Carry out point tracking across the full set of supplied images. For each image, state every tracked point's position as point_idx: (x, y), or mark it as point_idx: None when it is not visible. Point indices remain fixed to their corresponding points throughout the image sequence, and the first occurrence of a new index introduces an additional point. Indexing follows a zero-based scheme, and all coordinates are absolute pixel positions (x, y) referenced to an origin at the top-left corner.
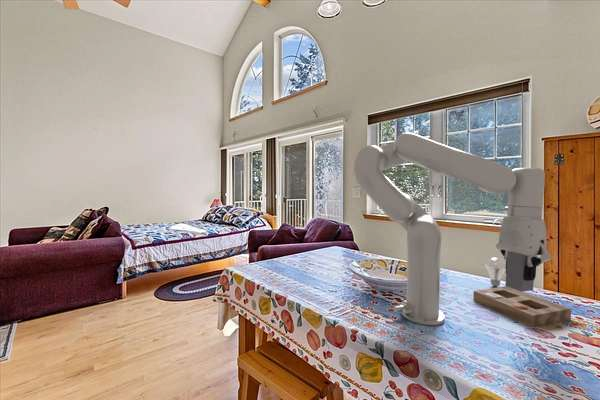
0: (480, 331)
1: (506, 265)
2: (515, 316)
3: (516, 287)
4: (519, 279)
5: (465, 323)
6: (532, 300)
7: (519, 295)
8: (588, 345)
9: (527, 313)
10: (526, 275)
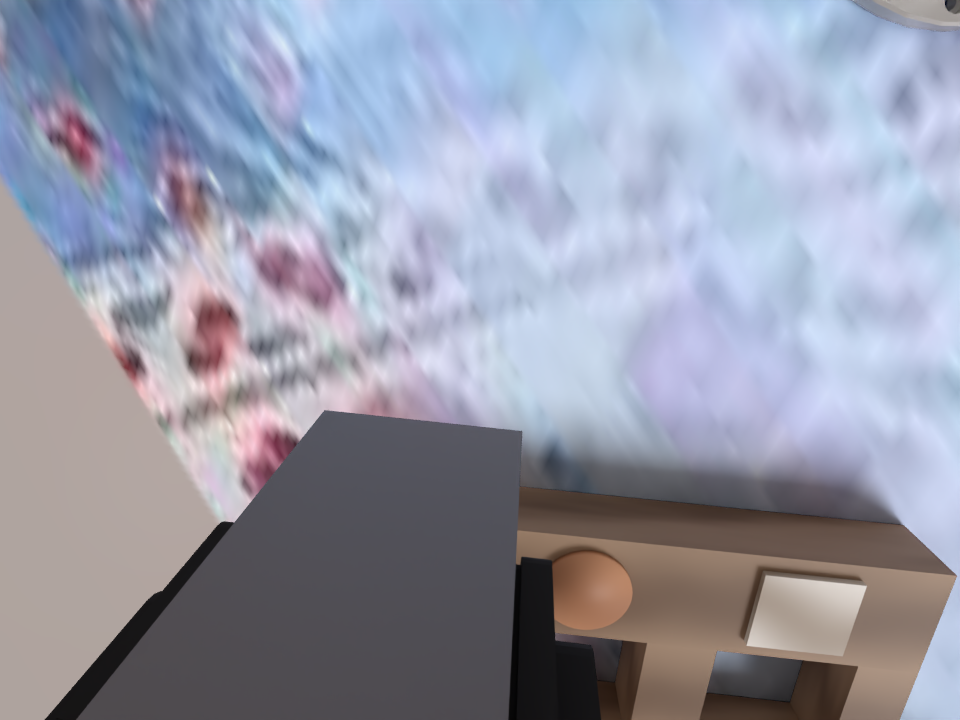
0: (563, 102)
1: (546, 675)
2: (575, 502)
3: (372, 429)
4: (301, 493)
5: (694, 105)
6: None
7: None
8: None
9: None
10: (182, 572)
